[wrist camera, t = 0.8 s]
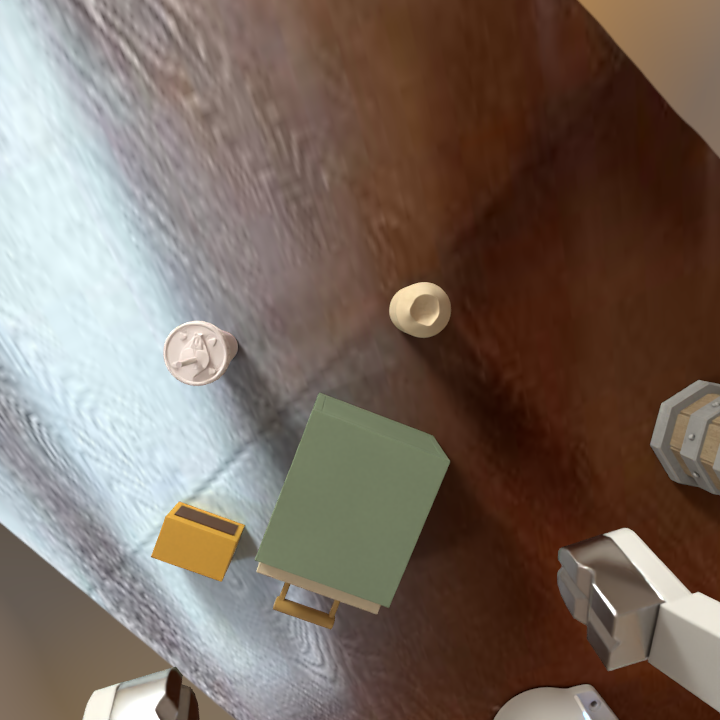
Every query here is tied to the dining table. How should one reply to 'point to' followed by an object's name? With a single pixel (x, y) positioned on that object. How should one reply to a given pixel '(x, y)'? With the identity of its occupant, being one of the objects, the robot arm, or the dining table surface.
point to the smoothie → (199, 352)
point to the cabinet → (354, 501)
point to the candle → (420, 309)
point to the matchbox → (198, 541)
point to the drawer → (307, 612)
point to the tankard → (691, 436)
